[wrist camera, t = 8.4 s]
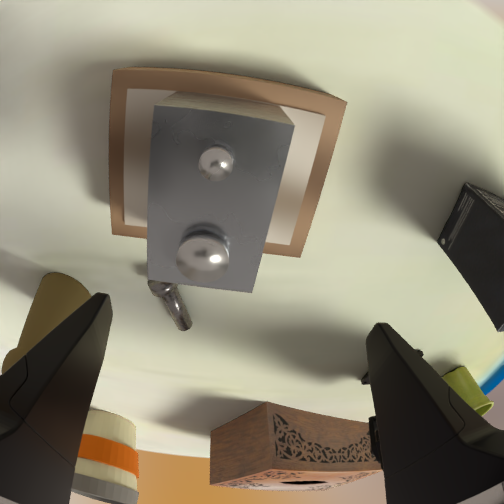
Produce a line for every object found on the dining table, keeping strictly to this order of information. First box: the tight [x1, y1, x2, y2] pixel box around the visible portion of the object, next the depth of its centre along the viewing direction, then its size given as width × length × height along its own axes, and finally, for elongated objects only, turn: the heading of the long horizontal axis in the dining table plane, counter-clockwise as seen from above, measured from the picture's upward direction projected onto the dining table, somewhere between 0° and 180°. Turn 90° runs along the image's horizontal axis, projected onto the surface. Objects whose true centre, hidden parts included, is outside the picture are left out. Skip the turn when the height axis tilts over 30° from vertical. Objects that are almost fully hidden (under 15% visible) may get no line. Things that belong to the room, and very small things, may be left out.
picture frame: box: [109, 67, 347, 258], centre depth 17 cm, size 10×12×3 cm
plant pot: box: [442, 367, 494, 416], centre depth 36 cm, size 9×9×9 cm
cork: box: [2, 273, 91, 374], centre depth 21 cm, size 6×6×11 cm
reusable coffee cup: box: [71, 410, 139, 504], centre depth 37 cm, size 13×13×15 cm
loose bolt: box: [148, 280, 192, 331], centre depth 24 cm, size 6×2×2 cm, turn 10°
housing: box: [147, 91, 295, 293], centre depth 14 cm, size 5×8×5 cm, turn 169°
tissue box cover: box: [210, 402, 382, 491], centre depth 42 cm, size 26×14×10 cm, turn 53°
